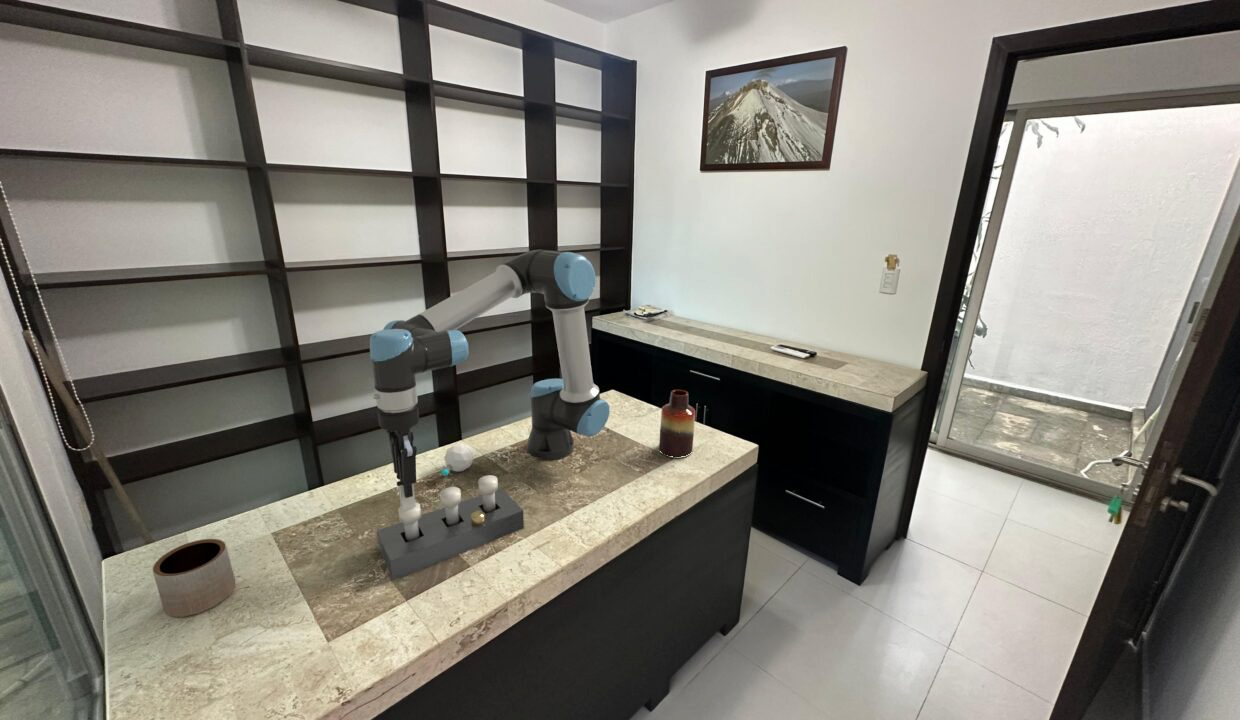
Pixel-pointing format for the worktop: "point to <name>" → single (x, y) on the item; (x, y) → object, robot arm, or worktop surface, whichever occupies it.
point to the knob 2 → (488, 491)
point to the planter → (194, 577)
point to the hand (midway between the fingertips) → (408, 507)
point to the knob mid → (451, 504)
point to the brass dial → (477, 518)
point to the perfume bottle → (457, 459)
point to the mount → (447, 534)
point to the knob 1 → (410, 521)
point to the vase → (677, 425)
